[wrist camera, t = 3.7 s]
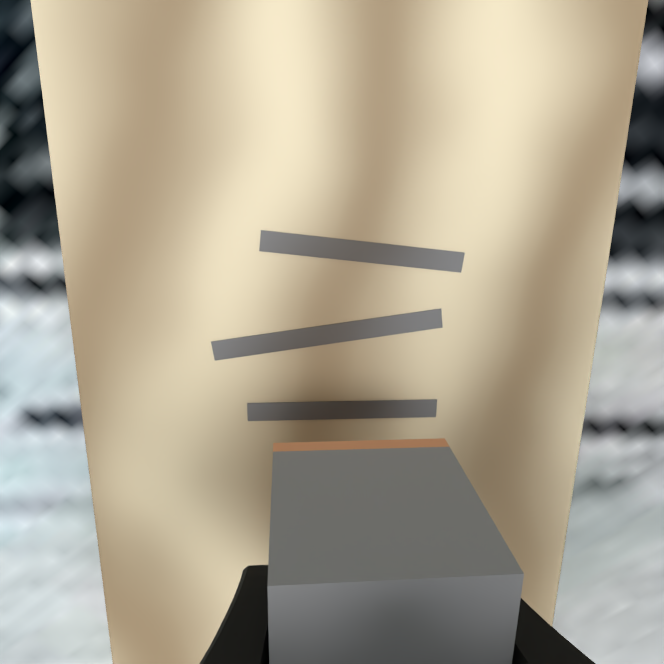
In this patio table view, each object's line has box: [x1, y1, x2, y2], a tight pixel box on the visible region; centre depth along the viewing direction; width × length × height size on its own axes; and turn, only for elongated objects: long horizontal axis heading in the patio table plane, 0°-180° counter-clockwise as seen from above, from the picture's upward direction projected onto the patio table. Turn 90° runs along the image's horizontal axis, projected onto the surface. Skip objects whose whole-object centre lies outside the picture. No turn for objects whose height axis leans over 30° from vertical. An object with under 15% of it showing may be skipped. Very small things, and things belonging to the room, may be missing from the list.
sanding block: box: [267, 438, 524, 664], centre depth 12 cm, size 4×7×4 cm, turn 0°
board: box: [31, 0, 648, 664], centre depth 18 cm, size 16×26×2 cm, turn 179°
